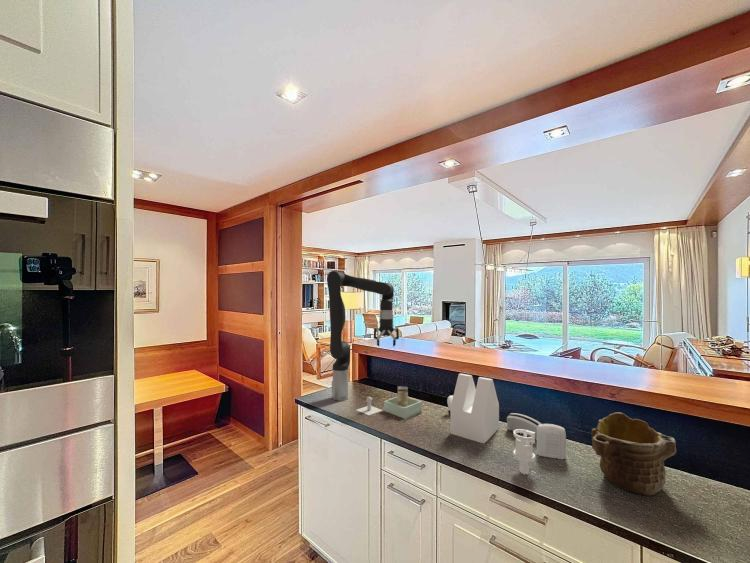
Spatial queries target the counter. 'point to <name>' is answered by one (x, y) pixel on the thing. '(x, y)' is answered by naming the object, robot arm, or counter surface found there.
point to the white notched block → (474, 409)
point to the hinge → (522, 423)
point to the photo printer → (551, 441)
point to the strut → (402, 396)
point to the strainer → (524, 449)
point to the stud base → (373, 410)
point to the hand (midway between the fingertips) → (386, 346)
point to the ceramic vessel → (632, 453)
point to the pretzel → (450, 401)
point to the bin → (403, 408)
